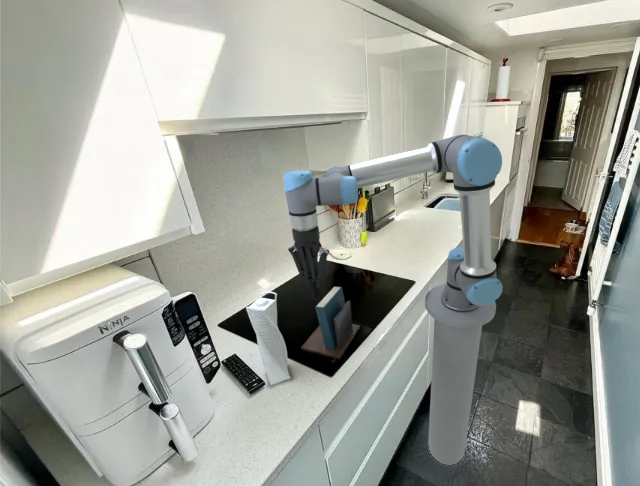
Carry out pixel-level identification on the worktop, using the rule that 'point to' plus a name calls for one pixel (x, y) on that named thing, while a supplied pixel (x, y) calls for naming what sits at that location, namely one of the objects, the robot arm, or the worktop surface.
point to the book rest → (343, 335)
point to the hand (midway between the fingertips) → (315, 295)
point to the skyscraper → (269, 338)
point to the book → (330, 315)
